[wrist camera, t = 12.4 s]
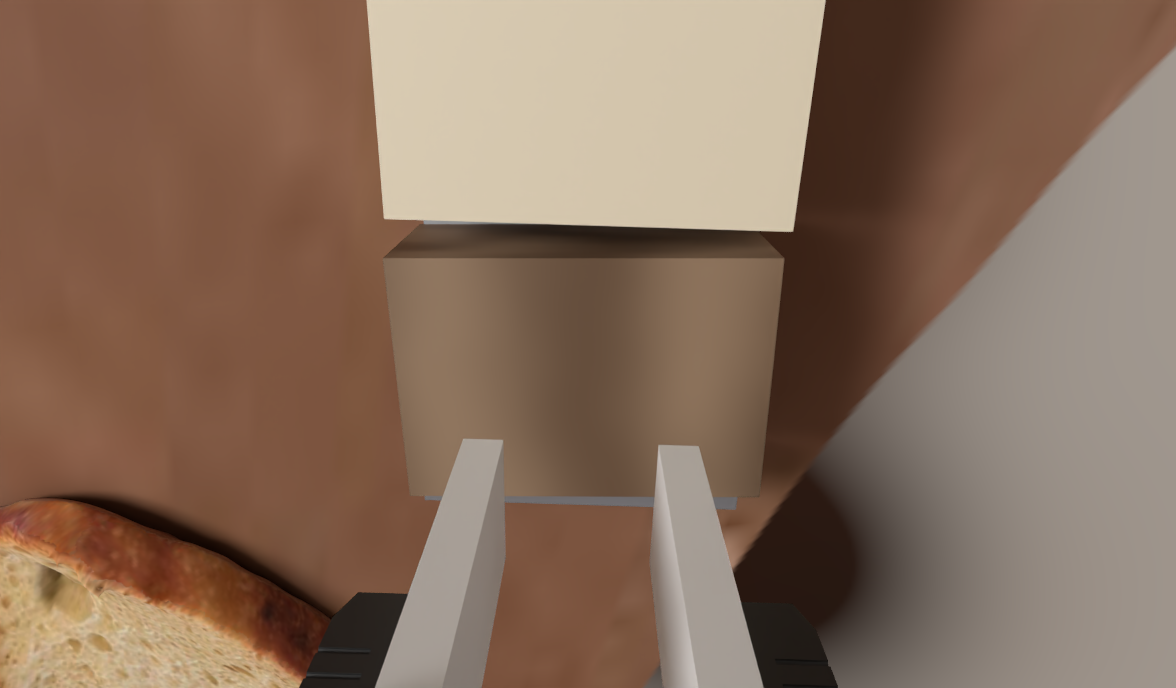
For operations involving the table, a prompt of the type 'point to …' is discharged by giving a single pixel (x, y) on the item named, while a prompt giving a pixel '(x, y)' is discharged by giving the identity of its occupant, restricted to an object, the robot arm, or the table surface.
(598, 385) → the tan brown block
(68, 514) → the bread slice
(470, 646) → the robot arm
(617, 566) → the table surface
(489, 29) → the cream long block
